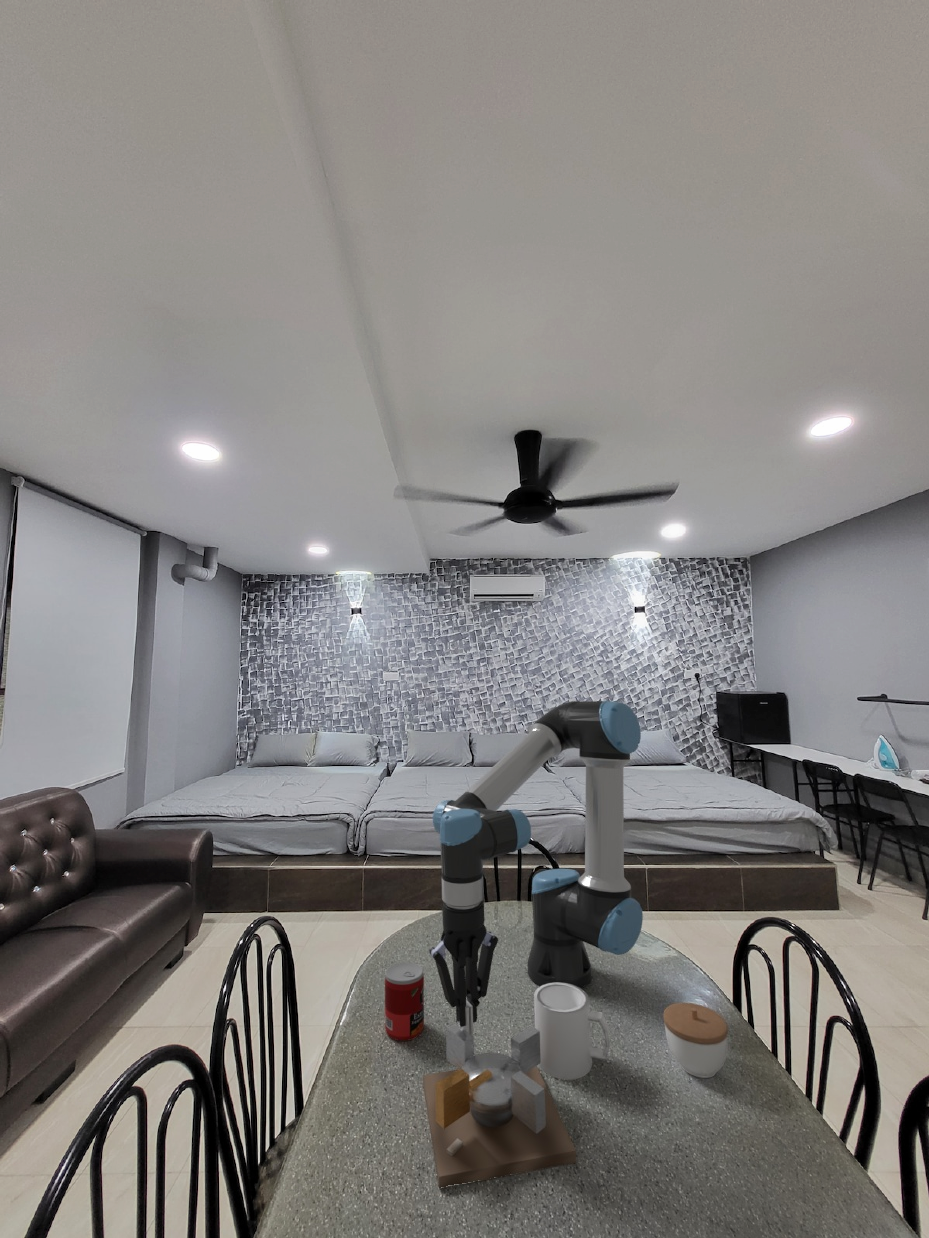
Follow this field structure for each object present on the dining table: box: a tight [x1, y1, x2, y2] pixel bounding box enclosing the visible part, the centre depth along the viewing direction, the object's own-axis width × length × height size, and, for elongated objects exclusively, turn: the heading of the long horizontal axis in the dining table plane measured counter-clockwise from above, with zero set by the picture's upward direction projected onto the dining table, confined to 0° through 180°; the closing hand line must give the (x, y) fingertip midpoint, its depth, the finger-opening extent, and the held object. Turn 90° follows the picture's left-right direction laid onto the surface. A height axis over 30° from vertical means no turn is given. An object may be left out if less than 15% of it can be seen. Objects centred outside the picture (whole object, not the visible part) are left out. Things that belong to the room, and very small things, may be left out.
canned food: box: [384, 961, 425, 1042], centre depth 109 cm, size 8×8×11 cm
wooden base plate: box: [422, 1065, 577, 1189], centre depth 85 cm, size 20×20×4 cm
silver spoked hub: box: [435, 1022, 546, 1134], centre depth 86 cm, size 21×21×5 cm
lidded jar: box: [663, 1002, 729, 1079], centre depth 97 cm, size 11×11×9 cm
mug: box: [533, 982, 611, 1081], centre depth 98 cm, size 14×10×11 cm
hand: (467, 1042), depth 93 cm, fingers closed
